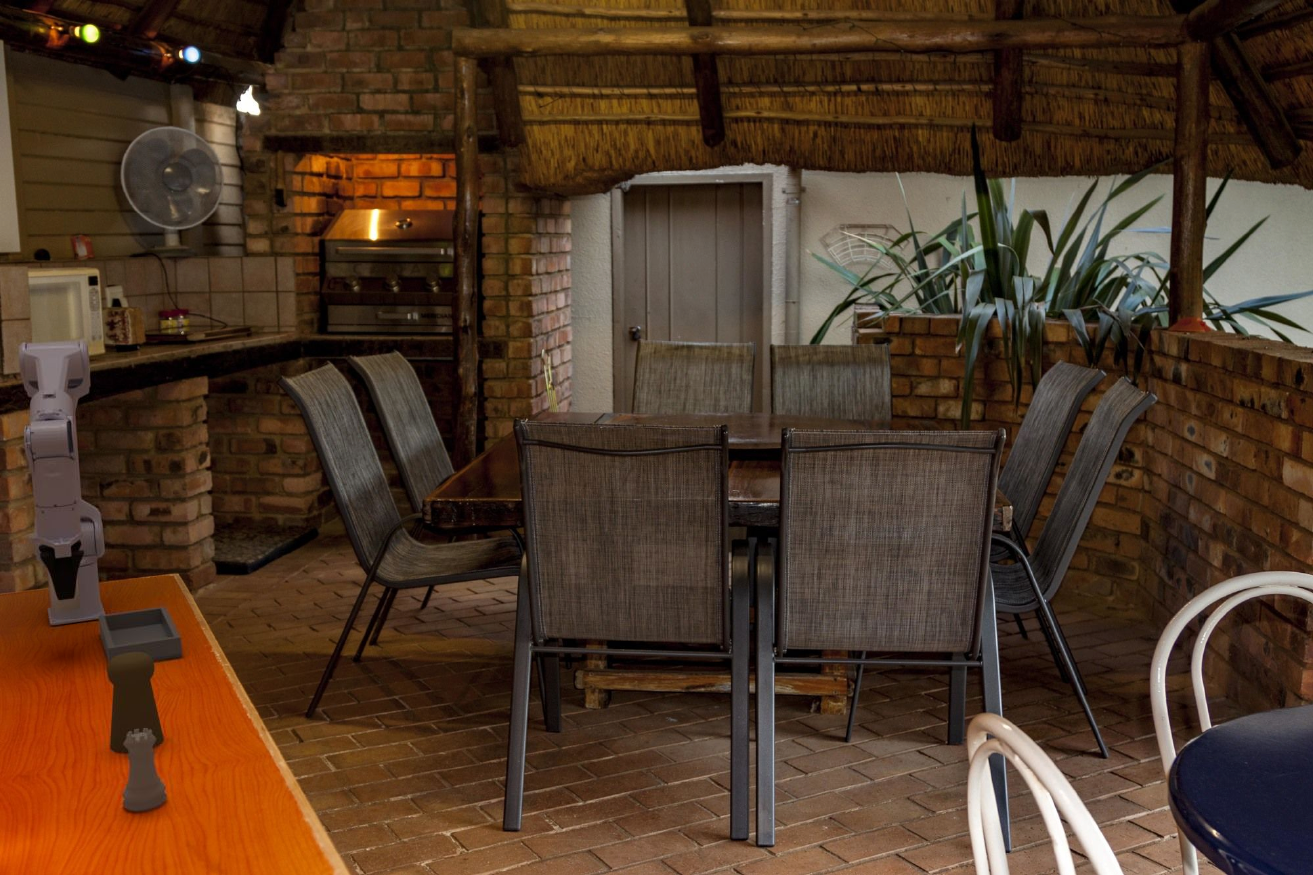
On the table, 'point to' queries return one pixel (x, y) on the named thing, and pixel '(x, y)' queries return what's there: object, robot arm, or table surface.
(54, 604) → the cell
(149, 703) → the cork
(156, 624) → the trough
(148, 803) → the rook chess piece
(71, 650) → the table surface
